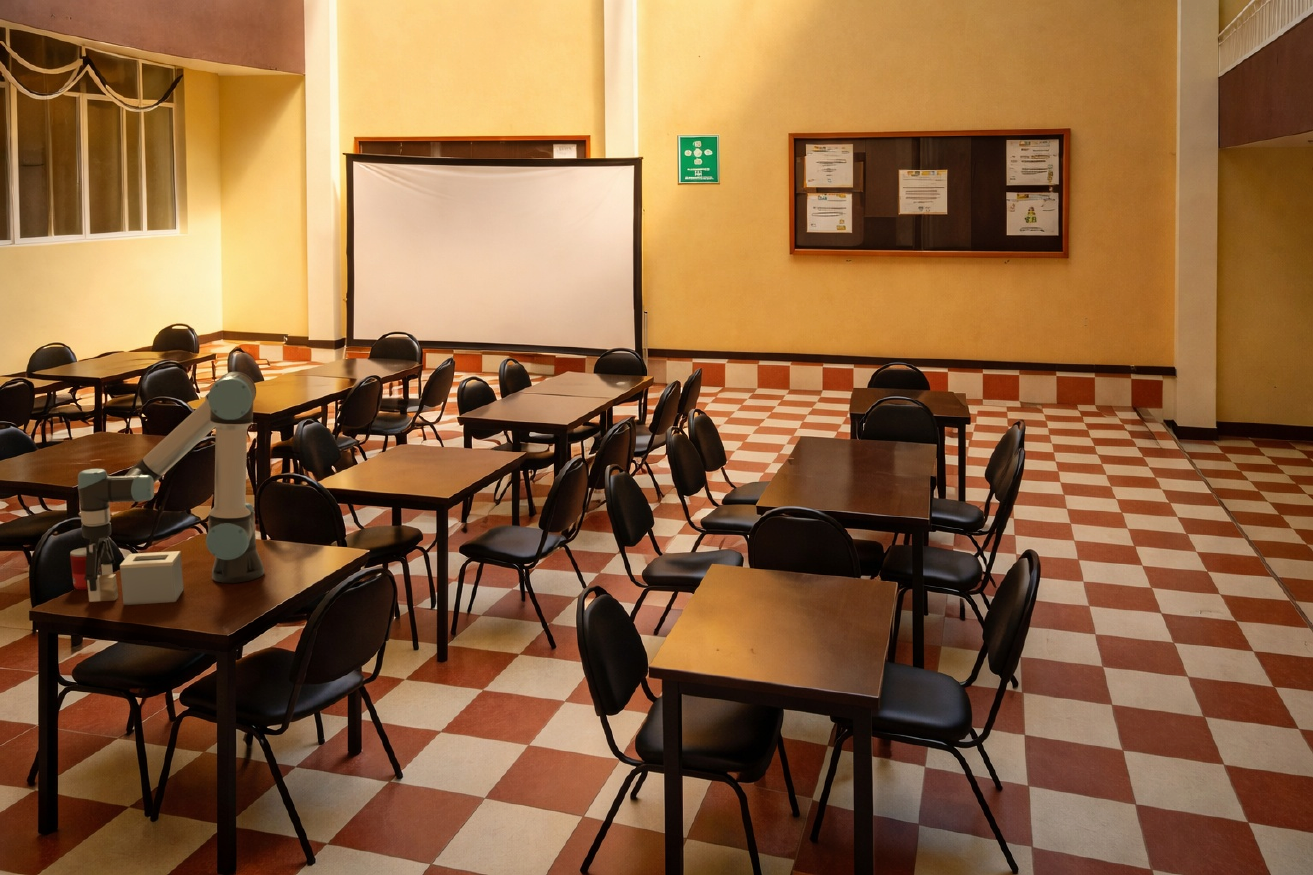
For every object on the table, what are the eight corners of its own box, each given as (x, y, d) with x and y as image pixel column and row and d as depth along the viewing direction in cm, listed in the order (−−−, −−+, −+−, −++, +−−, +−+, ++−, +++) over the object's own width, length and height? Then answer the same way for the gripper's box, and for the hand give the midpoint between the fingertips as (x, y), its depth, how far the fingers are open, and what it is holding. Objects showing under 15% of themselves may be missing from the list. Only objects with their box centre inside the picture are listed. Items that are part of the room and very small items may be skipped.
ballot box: (183, 589, 327) (180, 551, 325) (175, 601, 317) (172, 562, 315) (133, 592, 325) (129, 553, 322) (123, 604, 314) (119, 565, 312)
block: (118, 596, 321) (115, 574, 320) (115, 600, 318) (113, 577, 317) (92, 598, 320) (89, 575, 318) (89, 601, 317) (86, 578, 315)
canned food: (90, 590, 326) (87, 555, 324) (67, 588, 328) (63, 553, 326) (108, 582, 334) (104, 548, 331) (85, 580, 335) (81, 546, 333)
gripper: (94, 512, 326) (100, 580, 330) (68, 535, 302) (74, 608, 306) (121, 511, 327) (126, 578, 331) (97, 534, 303) (103, 606, 307)
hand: (102, 593), depth 318 cm, fingers open, 13 cm apart
